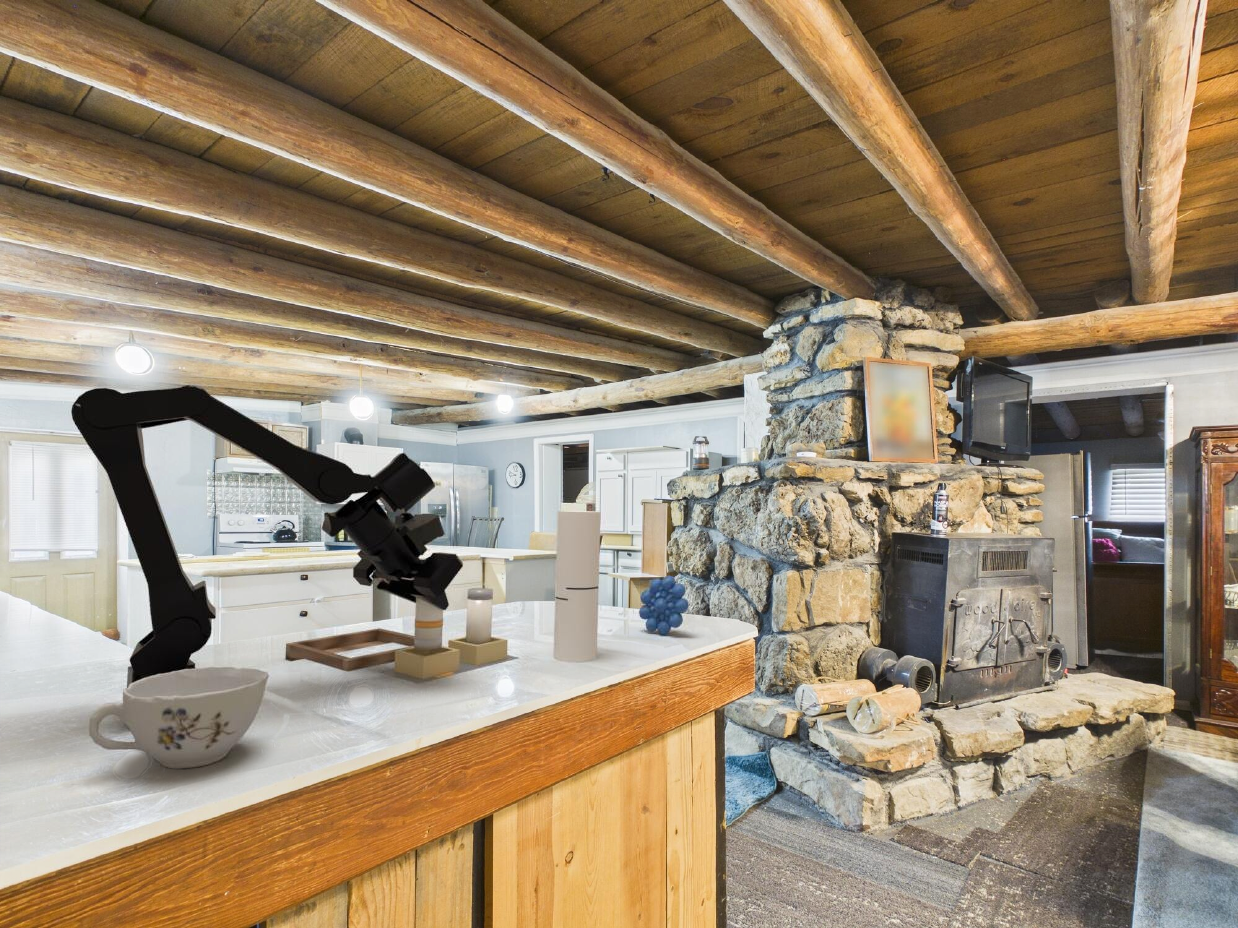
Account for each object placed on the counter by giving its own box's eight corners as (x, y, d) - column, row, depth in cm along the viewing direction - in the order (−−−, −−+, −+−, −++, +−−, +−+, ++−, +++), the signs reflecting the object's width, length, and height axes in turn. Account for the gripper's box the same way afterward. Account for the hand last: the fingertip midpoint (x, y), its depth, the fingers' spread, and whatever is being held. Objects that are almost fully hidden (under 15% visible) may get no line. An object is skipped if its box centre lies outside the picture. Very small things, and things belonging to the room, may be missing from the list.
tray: (347, 677, 100) (347, 660, 100) (285, 658, 110) (286, 643, 110) (441, 657, 114) (442, 642, 114) (379, 642, 124) (379, 628, 124)
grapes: (698, 635, 137) (699, 576, 138) (680, 640, 132) (682, 578, 132) (651, 627, 144) (652, 570, 145) (632, 632, 139) (633, 573, 139)
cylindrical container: (590, 669, 108) (594, 512, 109) (547, 666, 109) (552, 511, 110) (600, 659, 115) (604, 511, 116) (560, 656, 116) (564, 510, 117)
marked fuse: (425, 650, 98) (428, 574, 99) (407, 646, 101) (410, 571, 101) (447, 645, 102) (450, 572, 102) (430, 642, 104) (433, 569, 105)
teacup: (245, 728, 78) (249, 657, 78) (280, 761, 69) (284, 681, 69) (78, 760, 68) (83, 679, 68) (93, 804, 58) (99, 710, 59)
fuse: (476, 662, 106) (479, 591, 107) (459, 658, 109) (462, 589, 109) (495, 658, 110) (498, 589, 110) (478, 654, 112) (481, 587, 113)
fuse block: (418, 690, 94) (419, 661, 95) (379, 678, 100) (380, 651, 100) (519, 663, 111) (520, 638, 111) (481, 655, 116) (482, 631, 116)
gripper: (455, 495, 94) (509, 570, 102) (374, 493, 105) (429, 561, 113) (404, 556, 87) (467, 631, 95) (323, 547, 98) (386, 614, 106)
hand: (437, 605), depth 103 cm, fingers closed on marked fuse, 4 cm apart
